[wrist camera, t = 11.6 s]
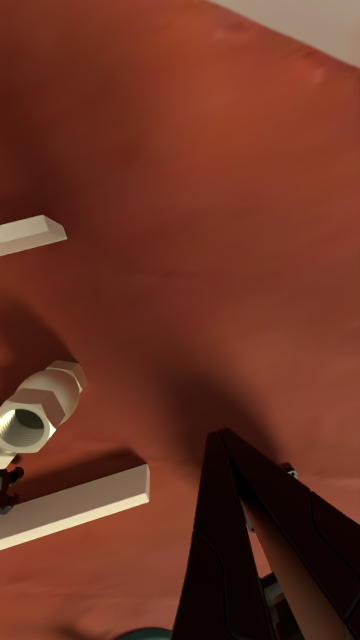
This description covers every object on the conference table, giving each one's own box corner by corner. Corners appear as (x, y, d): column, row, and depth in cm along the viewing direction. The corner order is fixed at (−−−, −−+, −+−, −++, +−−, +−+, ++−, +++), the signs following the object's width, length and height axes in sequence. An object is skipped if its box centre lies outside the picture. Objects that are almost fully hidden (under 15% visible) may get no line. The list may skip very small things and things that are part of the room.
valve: (47, 338, 18) (-33, 439, 19) (-11, 370, 12) (-129, 519, 13) (111, 381, 20) (33, 474, 21) (89, 432, 13) (-23, 563, 14)
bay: (149, 471, 22) (148, 501, 19) (-5, 520, 21) (-31, 559, 18) (62, 225, 17) (42, 214, 14) (-145, 277, 16) (-214, 277, 13)
